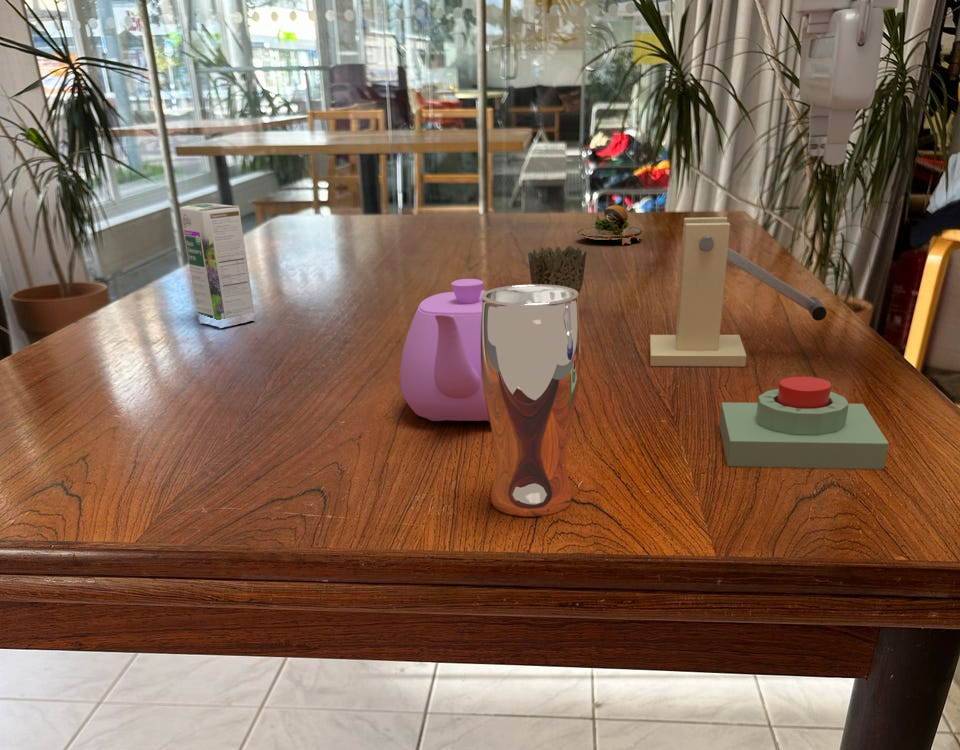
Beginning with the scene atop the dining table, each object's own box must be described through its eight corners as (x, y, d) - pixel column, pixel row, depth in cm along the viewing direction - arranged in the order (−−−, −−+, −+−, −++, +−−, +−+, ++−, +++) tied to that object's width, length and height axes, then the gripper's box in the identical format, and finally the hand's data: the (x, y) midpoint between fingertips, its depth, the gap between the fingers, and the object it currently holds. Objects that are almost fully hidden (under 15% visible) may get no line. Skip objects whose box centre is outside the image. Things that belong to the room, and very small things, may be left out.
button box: (859, 428, 82) (867, 382, 80) (884, 470, 74) (893, 420, 72) (718, 426, 84) (723, 381, 82) (727, 467, 76) (732, 418, 73)
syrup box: (197, 324, 127) (175, 206, 119) (235, 315, 130) (216, 201, 123) (220, 330, 123) (199, 209, 116) (258, 321, 127) (240, 203, 119)
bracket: (738, 345, 107) (752, 213, 100) (745, 366, 100) (761, 226, 93) (649, 345, 109) (657, 215, 102) (649, 366, 101) (658, 227, 94)
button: (823, 397, 78) (827, 376, 78) (831, 412, 75) (835, 390, 74) (774, 397, 79) (776, 376, 78) (780, 411, 76) (782, 390, 75)
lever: (810, 316, 103) (824, 296, 102) (817, 327, 99) (832, 306, 97) (686, 239, 101) (699, 218, 99) (688, 247, 96) (701, 224, 95)
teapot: (425, 381, 99) (417, 263, 93) (550, 383, 97) (551, 262, 91) (375, 447, 83) (361, 308, 76) (526, 450, 80) (524, 308, 74)
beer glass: (500, 525, 67) (494, 308, 60) (474, 490, 73) (466, 288, 65) (591, 512, 69) (597, 298, 61) (559, 479, 75) (561, 280, 67)
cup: (520, 312, 126) (519, 248, 122) (572, 306, 128) (573, 243, 123) (540, 323, 120) (540, 256, 116) (593, 318, 121) (595, 251, 117)
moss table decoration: (570, 238, 178) (570, 195, 174) (630, 234, 179) (632, 191, 175) (587, 248, 168) (588, 202, 164) (651, 244, 169) (653, 198, 165)
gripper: (913, -22, 76) (880, 169, 83) (863, -7, 93) (839, 150, 100) (831, -18, 77) (806, 170, 84) (797, -4, 94) (778, 152, 101)
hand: (824, 159), depth 92 cm, fingers open, 8 cm apart
